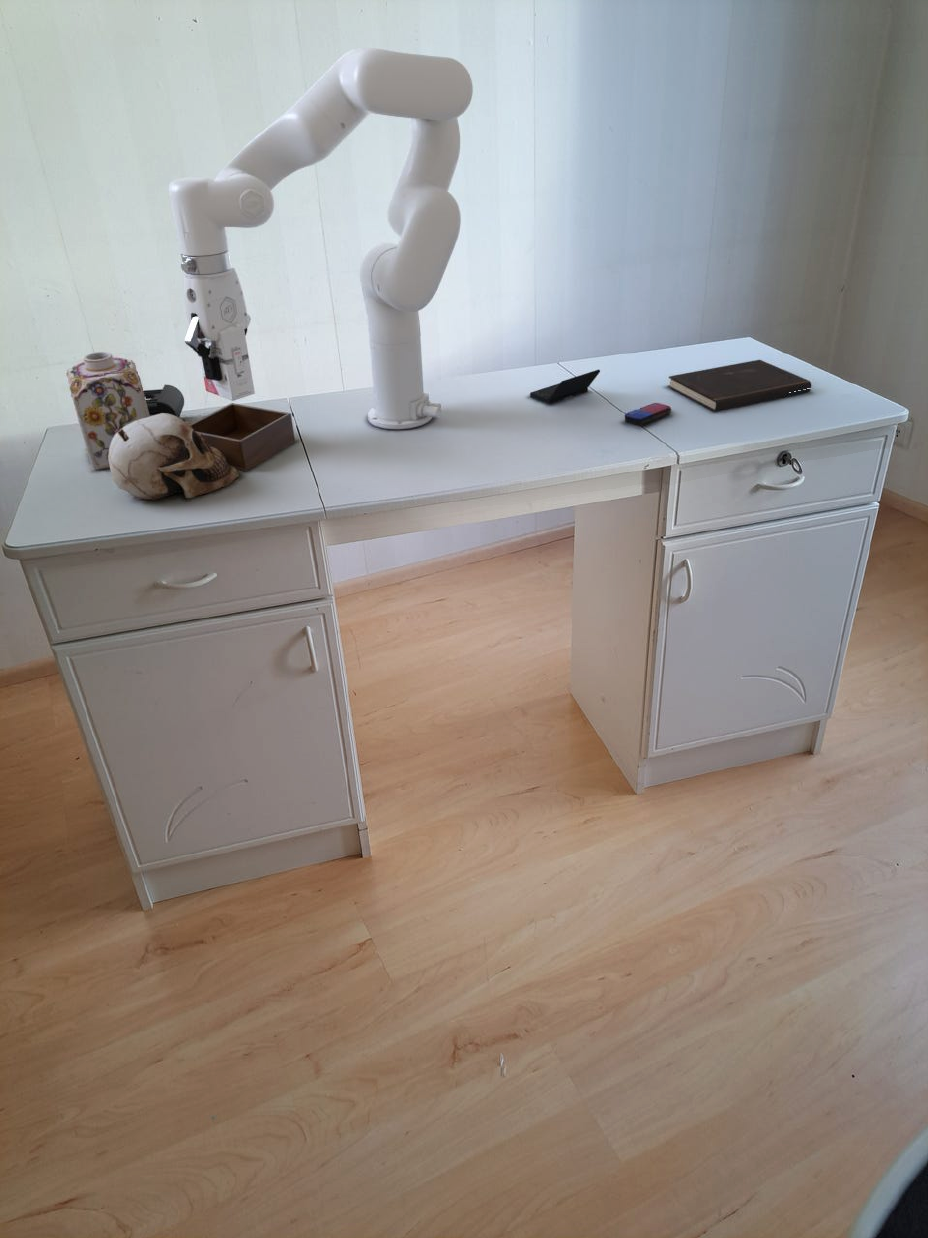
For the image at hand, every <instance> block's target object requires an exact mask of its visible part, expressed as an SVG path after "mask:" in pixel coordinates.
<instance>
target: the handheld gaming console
mask: <svg viewBox="0 0 928 1238" xmlns="http://www.w3.org/2000/svg"><path fill="white" fill-rule="evenodd" d="M600 372H601V369H596V370H592V371H589V372H586V373H583V374H580V375H577V376H574V377H571V378H568V379H565V380H561V381H560V382H559V383H556V384H553V385H549V386H546V387H543V388H540V389H537V390H533V391H531V392H530V393H529V398H532V399H534V400H537V401H539V402H542V403H544V404H547V405H549V406H550V405H552V404H553V405H554V404H556V403H558V402H562V401H565V400H566V399H570V398H572V397H573V398H574V397H577V396H580V395H583V394H585V393H588V392H589V387H590V386H591V385H592V384H593V382H594V381H595V379H596V378H597V377H598V375H599V374H600Z"/></svg>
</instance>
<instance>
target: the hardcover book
mask: <svg viewBox="0 0 928 1238" xmlns="http://www.w3.org/2000/svg"><path fill="white" fill-rule="evenodd" d="M668 379H669V380H670V381H669V385H667V388H668V389H670V390H672V391H674V392H675V393H678V394H680V395H681V396H683V397H685V398H687V399H689V400H691V401H693V402H695V403H696V404H698V405H700V406H702V407H704V408H705V409H708V410H709V411H711V412H719V411H723V410H728V409H733V408H738V407H744V406H748V405H753V404H757V403H762V402H768V401H771V400H773V401H774V400H777V399H778V400H779V399H782V398H787V397H792V396H796V395H801V394H807V393H810V392H811V389H812V382H811V381H810V380H809V379H806V378H804V377H802V376H800V375H797V374H794V373H792V372H790V371H787V370H785V369H783V368H780V367H778V366H776V365H773V364H771V363H769V362H767V361H765V360H762V359H754V360H750V361H745V362H739V363H733V364H727V365H723V366H718V367H712V368H706V369H702V370H701V369H700V370H695V371H691V372H686V373H681V374H680V373H679V374H674V375H669V376H668ZM807 388H811V389H807ZM803 389H806V390H803ZM798 390H801V391H798ZM794 391H796V392H794ZM789 392H791V393H789Z"/></svg>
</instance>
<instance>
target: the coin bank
mask: <svg viewBox="0 0 928 1238" xmlns="http://www.w3.org/2000/svg"><path fill="white" fill-rule="evenodd" d="M190 424H191V423H189V422H187V421H184V420H183V419H181V418H180V417H176V416H174V415H171V414H168V413H161V414H157V415H153V416H149V417H147V418H143V419H139V420H136V421H134V422H132V423H130V424H128V425H126V426H125V427H123V428H122V429H121V430H119V431H118V432H117V433H116V434H115V436H114V437H113V439H112V442H111V444H110V448H109V455H108V460H109V464H110V468H109V469H110V474H111V478H112V480H113V483H114V484H115V485H116V487H117V488H118V489H120V490H123V491H125V492H127V493H128V494H129V495H131V496H132V497H133V498H134V499H141V500H146V501H147V500H151V501H156V500H159V499H163V498H165V497H169V496H173V495H175V494H176V493H177V494H178V493H183V494H184V497H185V498H186V499H193V498H195V497H197V496H202V495H206V494H211V493H212V492H214V491H217V490H219V489H221V488H224V487H228V486H229V485H230V484H231V483H232V482H233V481H235V479H237V478H239V477H240V473H239V470H237V469H235V468H234V467H232V466H231V465H228V464H227V462H226V459H225V457H224V456H223V454H222V453H221V452H220V451H219V450H218V449H216V448H214V447H210V446H209V445H208V444H207V443H206V441H205V439H204V438H201V434H200V433H196V432H195V431H194V429H193V428H192V427H191V425H190Z"/></svg>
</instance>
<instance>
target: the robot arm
mask: <svg viewBox="0 0 928 1238" xmlns="http://www.w3.org/2000/svg"><path fill="white" fill-rule="evenodd" d="M471 77H472V76H471V74H470V73H469V71H468V69H467V68H466V67H465V66H464V65H463V64H462V63H461V62H460V61H459V60H457V59H455V58H452V57H446V56H435V55H426V54H417V53H407V52H401V51H393V50H389V49H383V48H371V47H370V48H369V47H368V48H367V47H366V48H365V47H359V48H358V47H357V48H353V49H351V50H349V51H346V52H345V53H343V54H342V56H340V57H339V58H338V59H337V60H336V61H335V62H334V63H333V64H332V65H331V66H330V67H329V69H327V70H326V71H325V72H324V73H323V74H322V75H321V76H320V77H319V79H318V80H316V82H315V83H314V84H313V85H312V86H311V87H310V88H309V89H308V90H307V91H306V92H305V93H304V94H303V95H302V96H301V97H300V98H299V99H298V100H297V101H296V102H295V103H294V104H292V106H290V108H289V109H288V110H287V111H286V112H284V113H283V114H282V115H281V116H279V117H277V118H276V119H275V120H274V121H273V122H272V123H271V124H270V125H269V126H267V127H266V128H265V129H263V130H262V131H261V132H260V133H258V134H257V135H256V136H254V138H252V139H251V140H250V141H249V142H248V143H246V144H245V145H244V146H243V147H242V148H241V149H240V150H239V151H238V152H237V154H236V155H234V157H233V158H231V159H230V160H229V162H228V163H226V165H225V166H224V167H223V168H222V169H221V170H220V171H219V173H218V174H217V175H216V177H215V178H214V179H212V178H209V177H203V176H190V177H182V178H176V179H175V180H172V181H171V182H170V183H169V185H168V196H169V197H168V198H169V202H170V206H171V211H172V215H173V221H174V226H175V232H176V237H177V242H178V246H179V251H180V258H181V264H180V267H181V270H182V271H183V273H184V276H183V295H184V296H183V297H184V304H185V305H184V306H185V313H186V318H187V324H188V330H187V333H186V335H185V338H184V343H185V345H187V346H188V347H189V348H191V349H192V350H193V351H194V352H195V353H196V354H197V356H198V357H199V358H200V357H202V362H203V367H204V372H205V377H206V379H209V380H215V381H221V380H222V374H221V369H220V363H219V358H218V357H215V350H216V343H215V341H219V339H220V337H219V332H221V331H223V330H225V329H227V328H229V327H231V326H233V325H235V324H241V325H242V326H243V327H244V331H245V337H246V336H247V333H248V328H249V326H250V322H251V320H252V319H251V316H250V315H249V314H248V311H247V306H246V301H245V297H244V293H243V288H242V286H241V281H240V279H239V276H238V274H237V271H236V269H235V268H234V267H232V262H231V256H230V249H229V243H228V238H227V232H226V228H244V229H251V228H258V227H261V226H262V225H264V224H266V223H267V222H268V221H269V220H270V218H271V217H272V215H273V213H274V209H275V200H274V196H273V192H272V190H273V189H274V188H275V187H276V186H277V185H278V184H280V183H281V182H282V181H283V180H284V179H286V178H287V177H289V176H290V175H292V174H294V173H295V172H297V171H299V170H302V169H304V168H307V167H311V166H313V165H316V164H318V163H320V162H322V161H324V160H325V159H327V158H328V157H329V156H330V155H331V154H332V153H333V152H334V151H335V150H336V149H337V148H338V147H340V145H341V144H342V143H343V141H345V140H346V139H347V138H348V137H349V136H350V135H351V134H352V132H353V131H355V130H356V129H357V128H358V126H359V125H360V124H361V123H362V122H363V121H365V119H366V118H368V116H369V115H371V114H374V115H381V116H388V117H395V118H404V119H408V120H409V125H410V141H409V146H408V149H407V152H406V156H405V159H404V162H403V164H402V167H401V170H400V172H399V176H398V178H397V181H396V184H395V186H394V188H393V192H392V194H391V197H390V200H389V202H388V206H387V211H386V218H387V222H388V225H389V227H390V228H391V230H392V231H393V232H394V233H395V234H396V235H397V236H399V241H398V243H397V244H396V243H393V242H381V243H376V244H375V245H373V246H371V247H370V248H369V249H368V250H367V251H366V252H365V254H364V255H363V257H362V259H361V262H360V267H359V281H360V287H361V292H362V297H363V302H364V306H365V312H366V320H367V327H368V340H369V341H368V342H369V351H370V352H369V353H370V363H371V364H370V365H371V376H372V386H373V399H374V406H373V407H372V408H370V410H369V411H368V413H367V420H368V422H369V423H370V424H371V425H372V426H375V427H378V428H381V429H387V430H406V429H413V428H417V427H421V426H423V425H426V424H427V423H429V422H430V421H431V420H432V419H433V418H437V419H438V418H440V417H441V416H442V415H441V414H442V405H441V403H437V402H431V401H430V394H429V393H427V392H426V393H425V392H424V390H425V389H424V376H423V375H424V374H423V373H424V372H423V358H422V357H423V355H422V337H421V336H422V334H421V333H422V332H421V320H420V314H419V311H421V310H423V309H424V308H425V307H427V306H428V305H429V304H430V302H431V301H432V299H433V298H434V297H435V295H436V294H437V291H438V290H439V286H440V284H441V282H442V279H443V277H444V274H445V271H446V269H447V267H448V265H449V262H450V260H451V256H452V254H453V252H454V249H455V247H456V244H457V241H458V238H459V236H460V230H461V222H462V218H461V210H460V206H459V203H458V202H457V200H456V198H455V197H454V196H453V195H452V193H450V192H449V190H450V186H451V184H452V181H453V177H454V174H455V171H456V170H457V169H456V168H457V165H458V162H459V158H460V153H461V152H460V151H461V132H460V131H461V130H460V126H459V125H460V124H459V120H458V118H459V117H461V116H462V115H463V114H464V113H465V112H466V111H467V109H468V108H469V106H470V104H471V102H472V98H473V91H474V88H473V87H474V86H473V81H472V78H471ZM206 341H207V342H209V344H208V348H207V347H206V346H205V345H206Z"/></svg>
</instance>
